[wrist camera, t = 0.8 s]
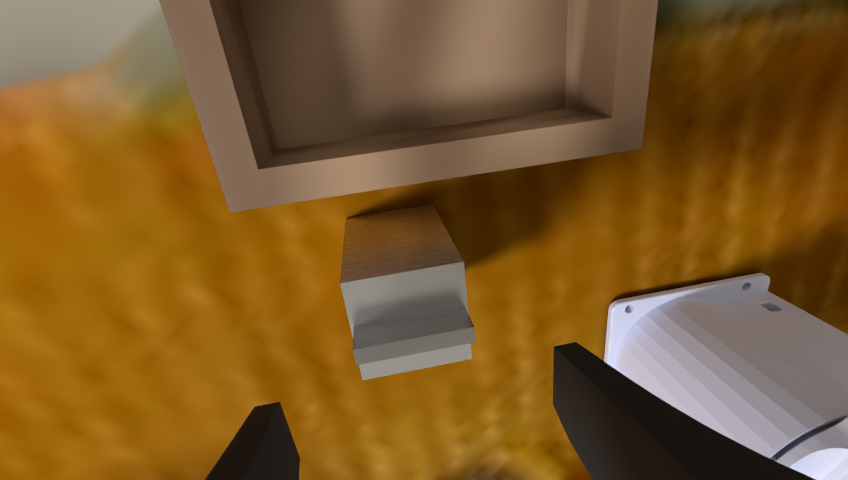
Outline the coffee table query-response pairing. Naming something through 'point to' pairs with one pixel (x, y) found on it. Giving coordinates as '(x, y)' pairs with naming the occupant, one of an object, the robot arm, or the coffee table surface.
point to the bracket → (404, 292)
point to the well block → (407, 88)
